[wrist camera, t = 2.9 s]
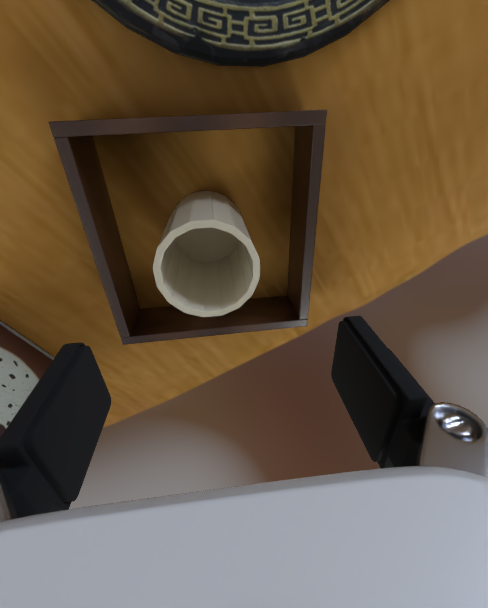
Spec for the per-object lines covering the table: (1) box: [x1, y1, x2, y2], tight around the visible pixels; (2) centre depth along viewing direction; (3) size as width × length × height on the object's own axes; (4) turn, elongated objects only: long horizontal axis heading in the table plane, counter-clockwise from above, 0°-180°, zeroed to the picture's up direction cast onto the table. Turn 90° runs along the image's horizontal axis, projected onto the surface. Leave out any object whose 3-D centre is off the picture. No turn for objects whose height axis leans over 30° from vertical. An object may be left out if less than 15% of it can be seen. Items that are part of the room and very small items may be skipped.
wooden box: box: [49, 110, 327, 345], centre depth 24 cm, size 17×17×4 cm
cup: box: [153, 191, 260, 317], centre depth 22 cm, size 6×6×9 cm
